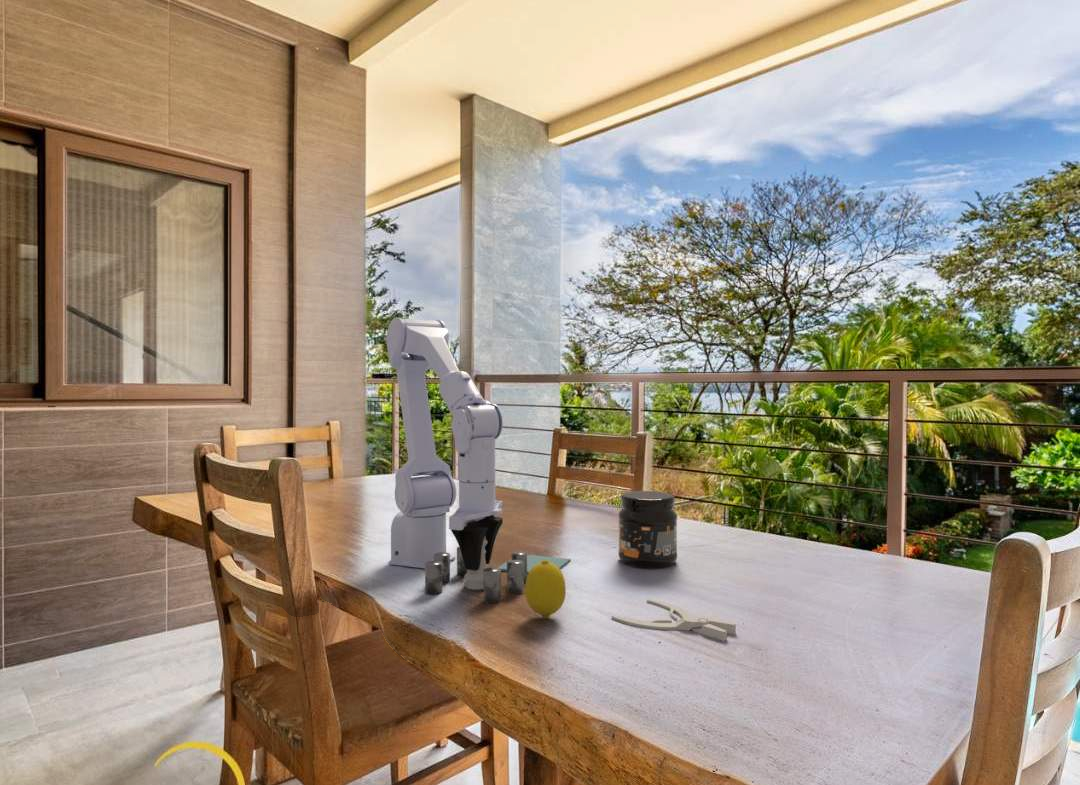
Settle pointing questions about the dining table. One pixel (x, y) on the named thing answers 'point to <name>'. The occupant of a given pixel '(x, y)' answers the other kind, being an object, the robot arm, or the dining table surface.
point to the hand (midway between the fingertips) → (477, 566)
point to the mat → (534, 560)
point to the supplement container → (647, 529)
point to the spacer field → (516, 575)
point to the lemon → (545, 588)
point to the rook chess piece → (476, 573)
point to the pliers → (685, 622)
